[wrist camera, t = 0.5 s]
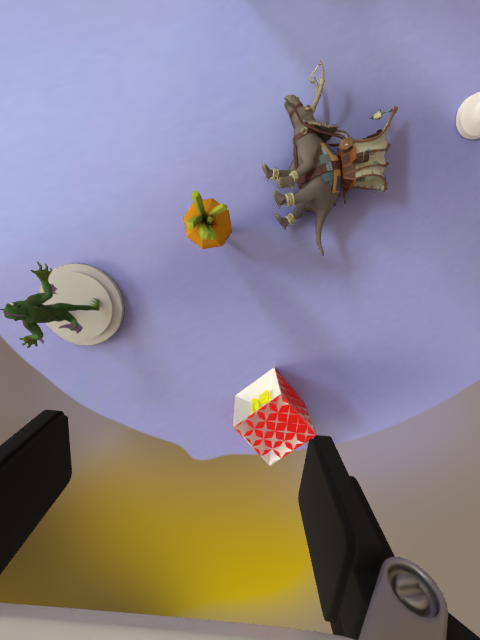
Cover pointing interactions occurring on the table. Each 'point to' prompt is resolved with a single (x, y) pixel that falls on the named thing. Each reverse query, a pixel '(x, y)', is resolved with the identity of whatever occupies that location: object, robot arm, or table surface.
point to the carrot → (207, 222)
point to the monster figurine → (71, 305)
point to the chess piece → (469, 117)
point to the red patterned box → (272, 417)
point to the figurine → (326, 163)
